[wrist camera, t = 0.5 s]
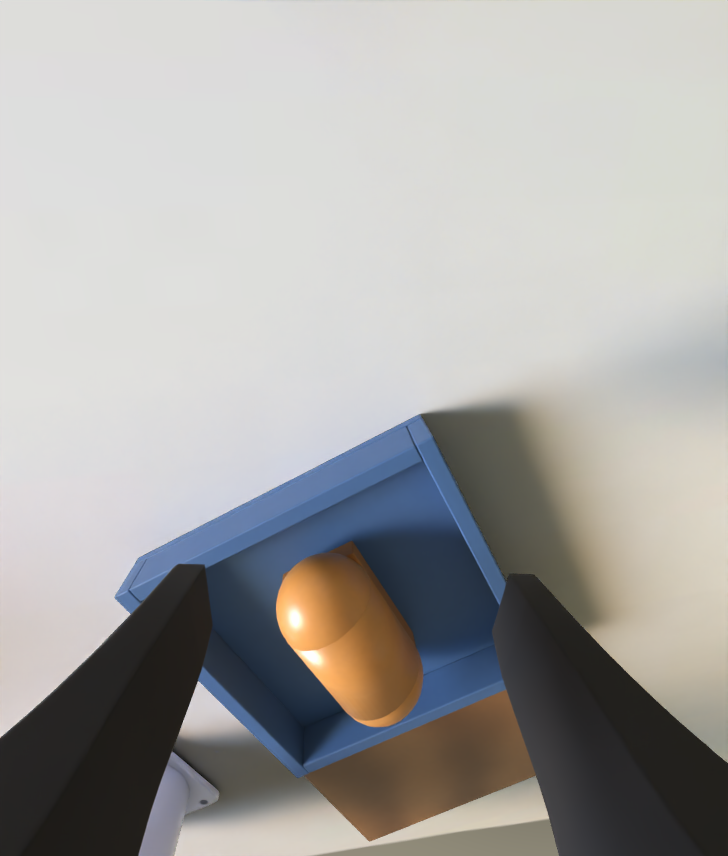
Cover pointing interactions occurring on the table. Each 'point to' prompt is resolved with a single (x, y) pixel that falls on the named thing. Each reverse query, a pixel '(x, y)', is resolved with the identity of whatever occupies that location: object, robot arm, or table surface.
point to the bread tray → (390, 562)
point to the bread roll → (351, 635)
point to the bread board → (428, 768)
